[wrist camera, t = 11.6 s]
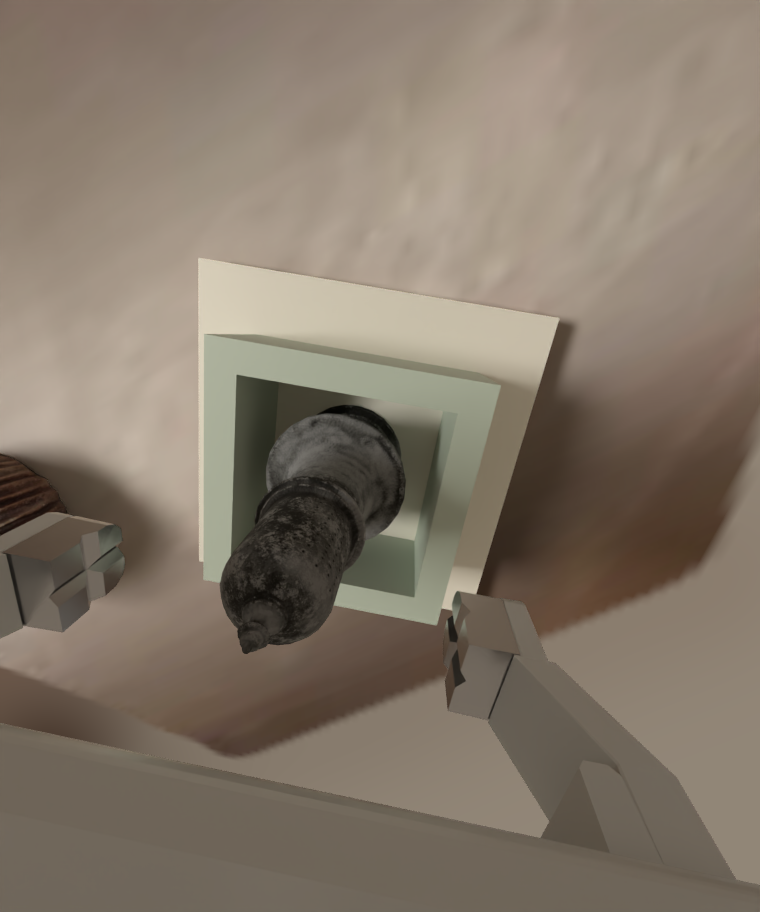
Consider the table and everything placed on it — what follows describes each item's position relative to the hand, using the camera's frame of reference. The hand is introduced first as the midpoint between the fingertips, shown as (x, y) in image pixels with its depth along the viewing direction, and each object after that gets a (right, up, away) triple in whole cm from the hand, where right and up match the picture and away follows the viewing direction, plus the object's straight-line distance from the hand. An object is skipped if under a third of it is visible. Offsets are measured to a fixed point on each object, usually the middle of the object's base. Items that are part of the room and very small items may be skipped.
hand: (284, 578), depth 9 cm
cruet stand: (+1, +3, +11) cm, 11 cm away
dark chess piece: (+1, +3, +10) cm, 10 cm away
